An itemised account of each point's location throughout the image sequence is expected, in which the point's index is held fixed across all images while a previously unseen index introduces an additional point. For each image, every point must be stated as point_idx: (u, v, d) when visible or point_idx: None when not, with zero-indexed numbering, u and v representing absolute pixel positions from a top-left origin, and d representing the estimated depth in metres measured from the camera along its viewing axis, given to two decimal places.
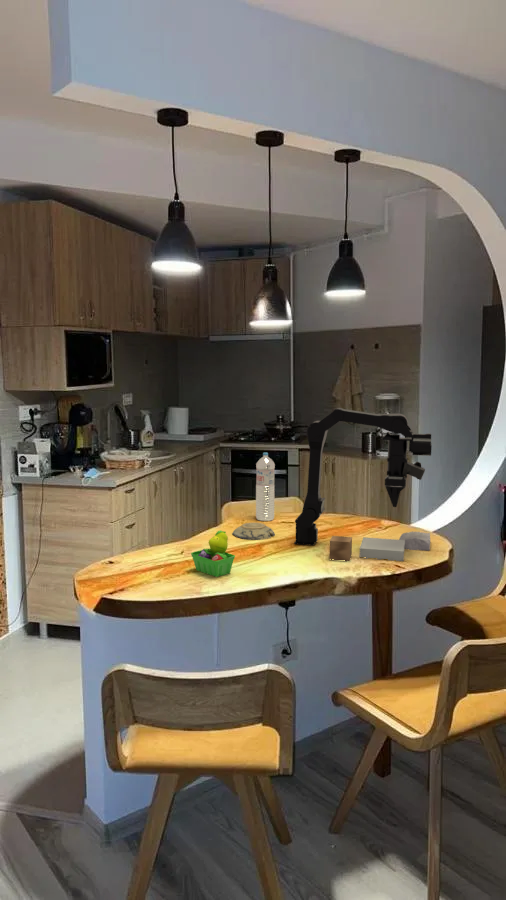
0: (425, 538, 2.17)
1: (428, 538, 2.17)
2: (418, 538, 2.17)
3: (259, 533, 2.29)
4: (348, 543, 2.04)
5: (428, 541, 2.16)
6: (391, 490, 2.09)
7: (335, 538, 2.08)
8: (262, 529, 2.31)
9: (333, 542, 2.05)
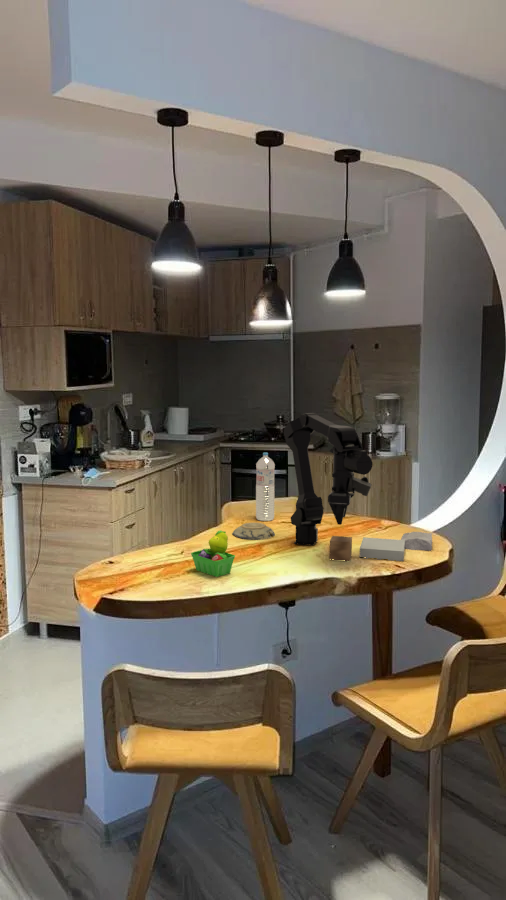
0: (426, 538, 2.17)
1: (430, 538, 2.17)
2: (420, 538, 2.17)
3: (259, 533, 2.29)
4: (348, 543, 2.04)
5: (430, 541, 2.16)
6: (335, 507, 2.00)
7: (335, 538, 2.08)
8: (262, 529, 2.31)
9: (333, 542, 2.05)
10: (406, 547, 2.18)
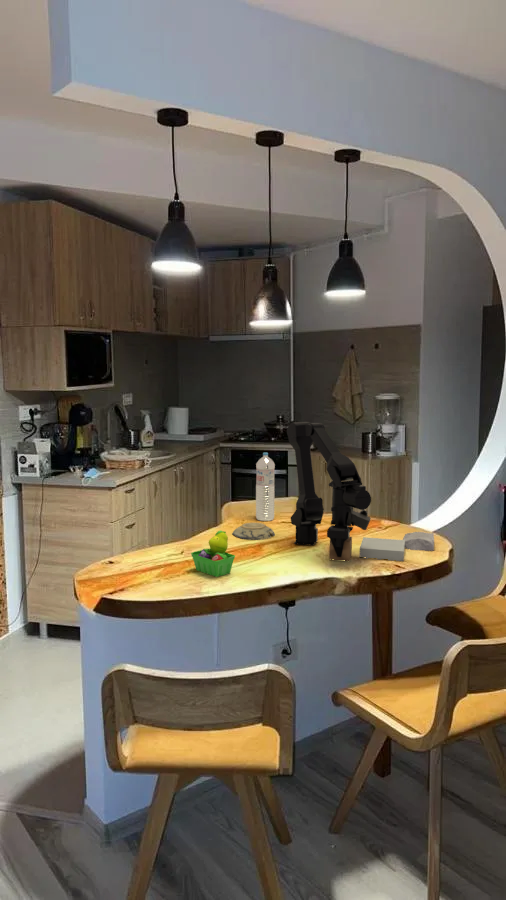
0: (428, 538, 2.17)
1: (432, 538, 2.17)
2: (422, 538, 2.17)
3: (259, 533, 2.29)
4: (348, 543, 2.04)
5: (432, 541, 2.16)
6: (335, 540, 2.03)
7: None
8: (262, 529, 2.31)
9: None
10: (408, 547, 2.18)
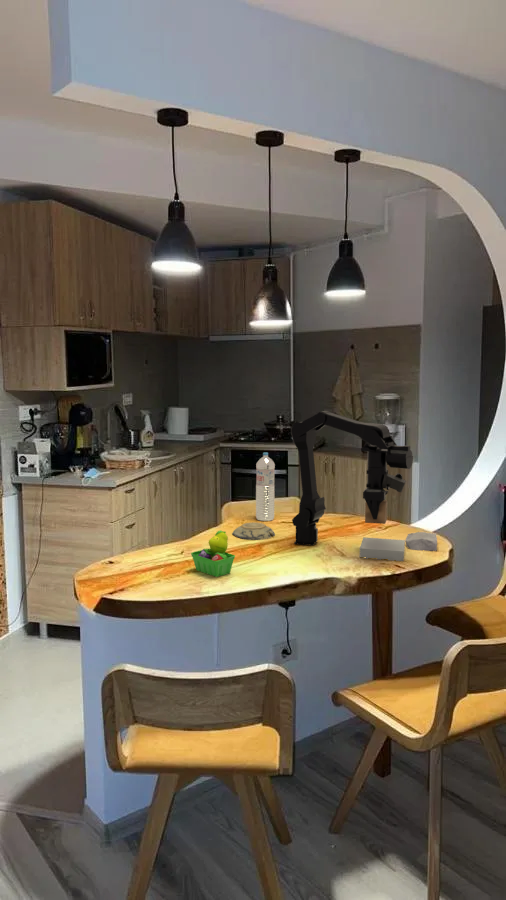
0: (431, 538, 2.17)
1: (435, 538, 2.17)
2: (425, 538, 2.17)
3: (259, 533, 2.29)
4: (384, 505, 2.06)
5: (435, 541, 2.16)
6: (371, 502, 2.05)
7: None
8: (262, 529, 2.31)
9: None
10: (411, 547, 2.18)
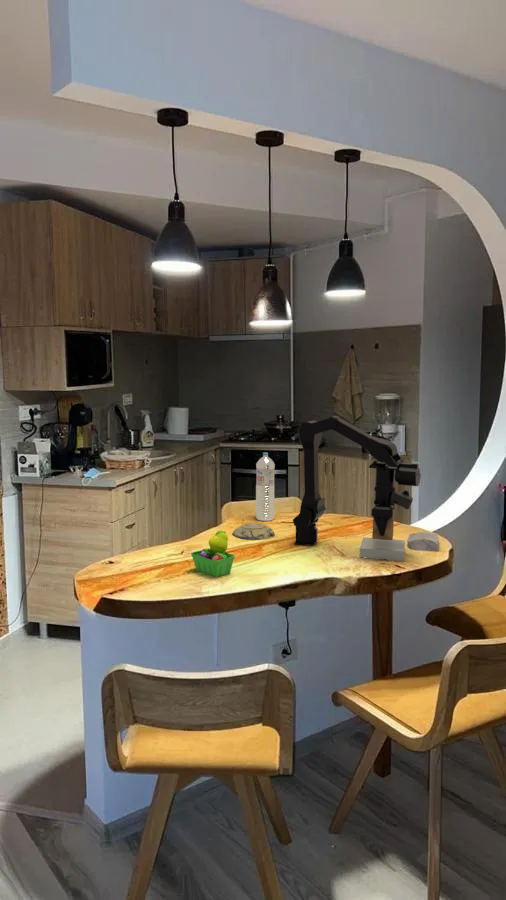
0: (433, 539, 2.16)
1: (437, 539, 2.17)
2: (427, 539, 2.17)
3: (259, 533, 2.29)
4: (391, 522, 2.08)
5: (437, 542, 2.16)
6: (378, 519, 2.07)
7: None
8: (262, 529, 2.31)
9: None
10: (413, 548, 2.17)
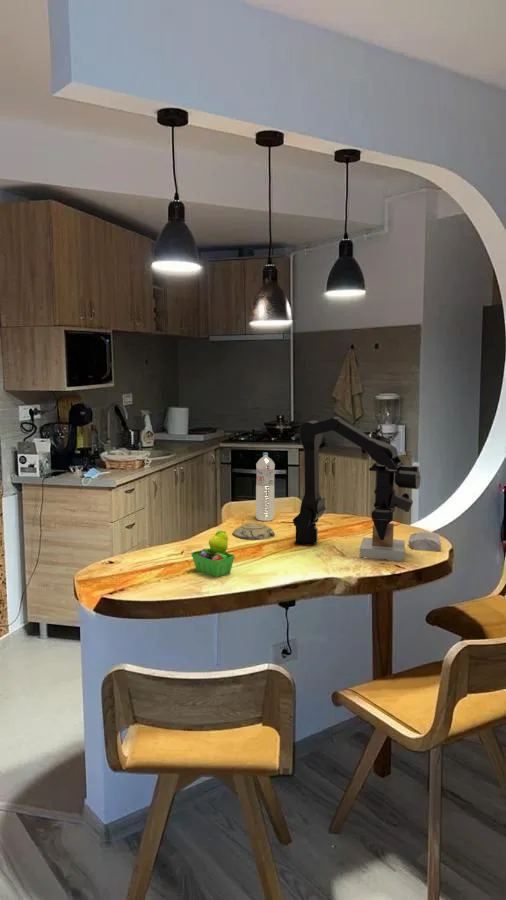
0: (435, 539, 2.16)
1: (438, 539, 2.17)
2: (428, 539, 2.16)
3: (259, 533, 2.29)
4: (391, 529, 2.08)
5: (438, 542, 2.16)
6: (378, 523, 2.06)
7: None
8: (262, 529, 2.31)
9: None
10: (414, 548, 2.17)
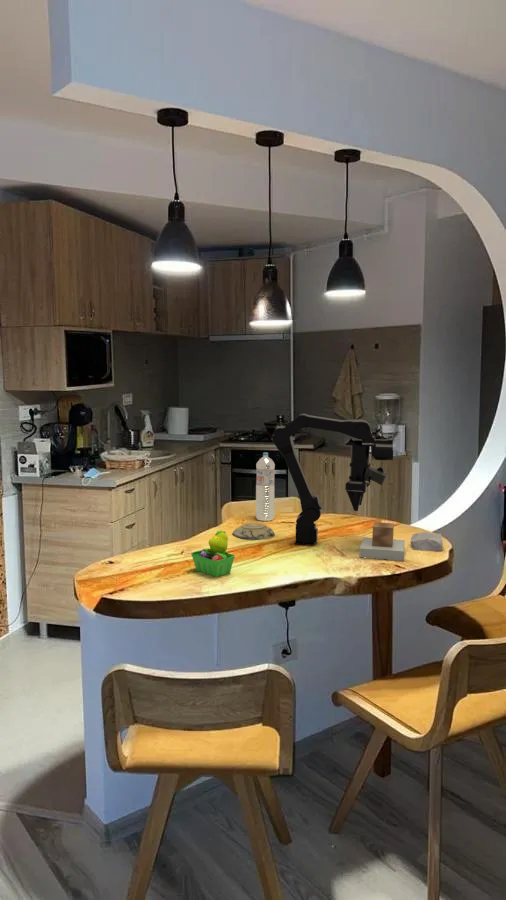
0: (437, 539, 2.16)
1: (440, 539, 2.17)
2: (430, 539, 2.16)
3: (259, 533, 2.29)
4: (391, 529, 2.08)
5: (440, 542, 2.16)
6: (352, 494, 2.14)
7: (377, 524, 2.12)
8: (262, 529, 2.31)
9: (376, 528, 2.09)
10: (416, 548, 2.17)
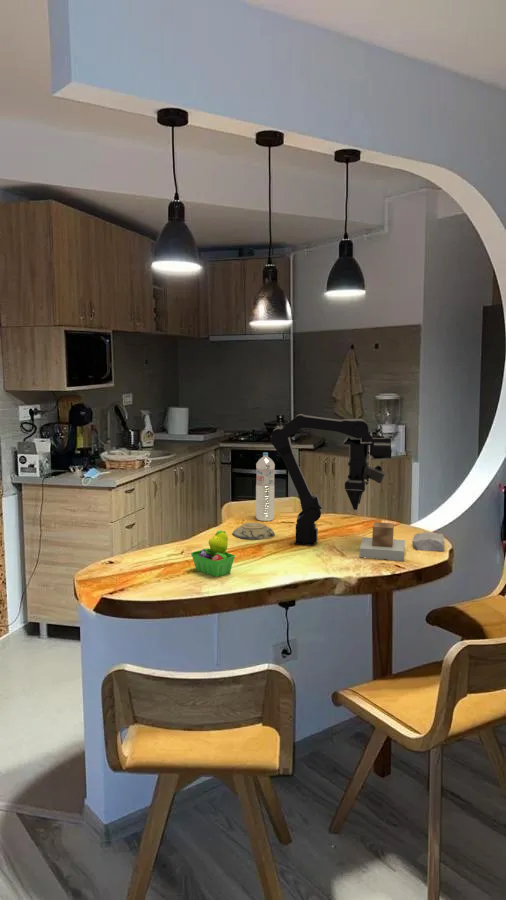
0: (439, 539, 2.16)
1: (442, 539, 2.16)
2: (432, 539, 2.16)
3: (259, 533, 2.29)
4: (391, 529, 2.08)
5: (442, 542, 2.16)
6: (351, 493, 2.15)
7: (377, 524, 2.12)
8: (262, 529, 2.31)
9: (376, 528, 2.09)
10: (418, 548, 2.17)
